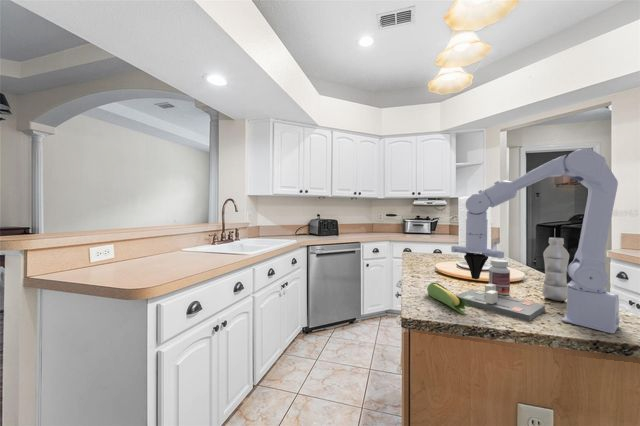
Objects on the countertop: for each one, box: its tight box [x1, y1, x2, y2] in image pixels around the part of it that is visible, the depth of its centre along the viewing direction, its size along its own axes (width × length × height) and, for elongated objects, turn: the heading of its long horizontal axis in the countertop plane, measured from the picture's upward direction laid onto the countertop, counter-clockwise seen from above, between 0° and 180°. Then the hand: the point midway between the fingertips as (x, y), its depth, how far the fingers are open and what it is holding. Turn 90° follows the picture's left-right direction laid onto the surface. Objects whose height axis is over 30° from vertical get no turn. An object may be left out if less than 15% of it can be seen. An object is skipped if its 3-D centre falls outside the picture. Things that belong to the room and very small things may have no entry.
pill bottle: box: [488, 258, 511, 296], centre depth 97 cm, size 6×6×11 cm
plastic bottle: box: [541, 237, 570, 302], centre depth 90 cm, size 6×7×20 cm
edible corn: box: [426, 282, 471, 316], centre depth 86 cm, size 5×20×5 cm, turn 4°
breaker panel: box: [455, 288, 546, 322], centre depth 84 cm, size 20×13×2 cm, turn 37°
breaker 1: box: [484, 283, 496, 295], centre depth 89 cm, size 2×4×3 cm, turn 127°
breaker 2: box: [486, 290, 499, 304], centre depth 82 cm, size 2×4×3 cm, turn 127°
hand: (475, 278), depth 85 cm, fingers closed
